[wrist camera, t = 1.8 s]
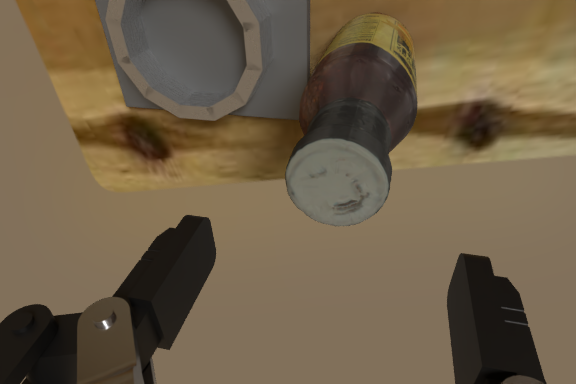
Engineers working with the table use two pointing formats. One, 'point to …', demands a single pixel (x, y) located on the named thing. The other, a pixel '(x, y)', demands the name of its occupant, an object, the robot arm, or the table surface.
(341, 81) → the sauce bottle
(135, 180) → the table surface
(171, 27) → the charcoal base
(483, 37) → the table surface
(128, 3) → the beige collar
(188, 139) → the table surface
